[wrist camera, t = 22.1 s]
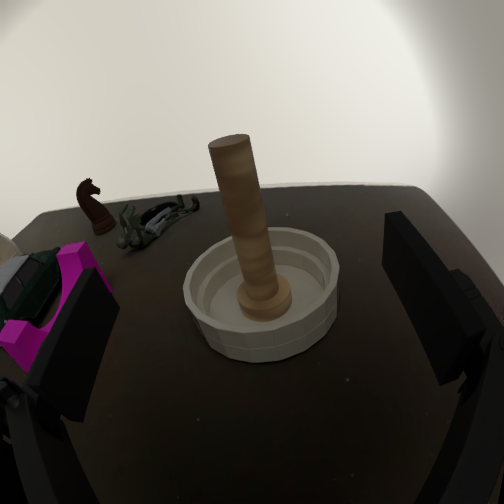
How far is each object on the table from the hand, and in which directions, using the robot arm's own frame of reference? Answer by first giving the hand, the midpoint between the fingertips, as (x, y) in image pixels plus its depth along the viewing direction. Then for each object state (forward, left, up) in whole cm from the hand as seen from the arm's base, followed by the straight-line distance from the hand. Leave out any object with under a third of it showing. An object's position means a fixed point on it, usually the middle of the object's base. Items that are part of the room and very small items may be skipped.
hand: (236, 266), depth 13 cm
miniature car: (+29, -22, -13) cm, 39 cm away
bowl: (-2, -9, -13) cm, 16 cm away
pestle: (-2, -9, -12) cm, 15 cm away
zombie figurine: (+8, -31, -13) cm, 35 cm away
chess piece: (+19, -40, -13) cm, 46 cm away
